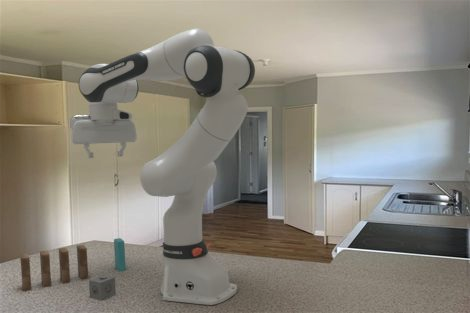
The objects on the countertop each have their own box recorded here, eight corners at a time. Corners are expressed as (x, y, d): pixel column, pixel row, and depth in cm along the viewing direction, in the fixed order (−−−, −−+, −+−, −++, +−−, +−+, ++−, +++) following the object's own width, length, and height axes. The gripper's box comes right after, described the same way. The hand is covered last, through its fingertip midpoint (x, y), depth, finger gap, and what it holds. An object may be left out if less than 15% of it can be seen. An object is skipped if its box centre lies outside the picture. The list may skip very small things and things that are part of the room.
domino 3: (67, 277, 133) (65, 247, 133) (70, 282, 129) (68, 250, 129) (60, 279, 132) (58, 248, 132) (62, 283, 128) (60, 252, 127)
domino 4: (85, 274, 136) (83, 244, 136) (88, 278, 132) (86, 247, 131) (78, 275, 135) (76, 245, 135) (81, 279, 131) (79, 249, 130)
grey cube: (101, 300, 114) (100, 282, 113) (89, 297, 116) (88, 280, 116) (115, 294, 118) (114, 277, 117) (104, 291, 120) (103, 274, 120)
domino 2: (49, 281, 131) (47, 250, 130) (51, 285, 126) (49, 254, 126) (41, 282, 130) (39, 251, 129) (43, 287, 125) (41, 255, 125)
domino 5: (121, 266, 143) (120, 238, 143) (125, 270, 139) (124, 241, 139) (115, 267, 142) (113, 239, 142) (119, 271, 138) (117, 242, 137)
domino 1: (30, 285, 128) (28, 253, 127) (31, 289, 124) (29, 257, 123) (22, 286, 127) (20, 254, 126) (23, 291, 122) (21, 258, 122)
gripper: (70, 114, 126) (73, 159, 127) (136, 114, 135) (138, 155, 136) (68, 115, 132) (70, 158, 132) (132, 115, 141) (134, 155, 142)
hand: (105, 157), depth 134 cm, fingers open, 8 cm apart
